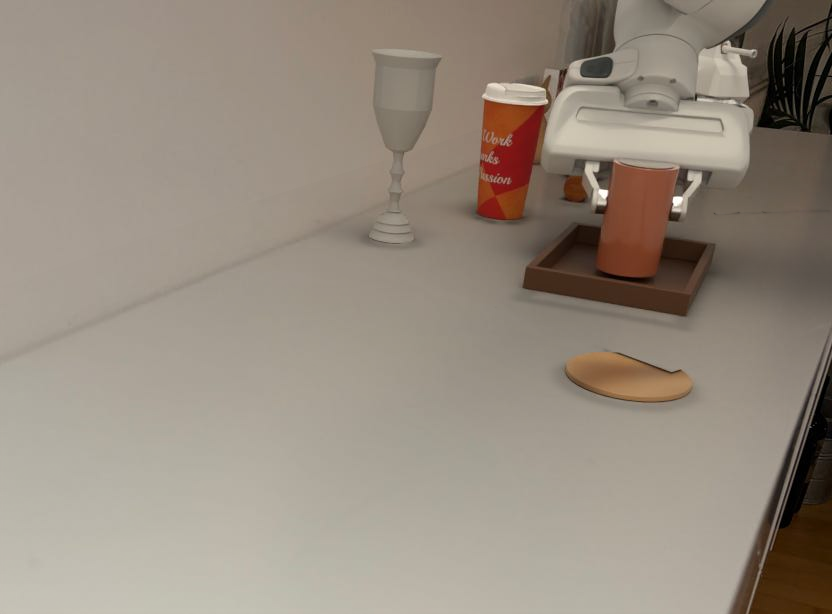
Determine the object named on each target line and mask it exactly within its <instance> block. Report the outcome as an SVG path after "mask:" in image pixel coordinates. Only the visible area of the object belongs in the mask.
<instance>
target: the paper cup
mask: <svg viewBox="0 0 832 614" xmlns="http://www.w3.org/2000/svg"><path fill="white" fill-rule="evenodd" d="M485 87H486V88H485V92H484V93H482V96H481V98H482V99H483V100H484V102H483V112H482V113H483V114H482V125H481V126H482V128H481V140H480V141H481V142H480V154H479V155H480V156H479V168H478V169H479V170H478V186H477V202H476V206H477V207H476V212H477V214H478V215H480V216H483V217H486V218H489V219H496V220H518V219H521V218H523V214H524V209H525V205H526V201H527V197H528V191H529V187H530V182H531V176H532V172H533V167H534V162H535V158H536V151H537V146H538V141H539V138H540V132H541V128H542V122H543V117H544V112H545V107H546V105H548V104H549V100H548V99H547V90H546V88H544V87H541V86H537V85H531V84H525V83H516V82H515V83H514V82H512V83H510V82H500V83H497V82H490V83H488V84H487V85H486V86H485Z"/></svg>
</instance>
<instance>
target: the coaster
mask: <svg viewBox="0 0 832 614" xmlns="http://www.w3.org/2000/svg"><path fill="white" fill-rule="evenodd" d="M565 373H566V376H567V377H568V379H569V380H571V381H572V382H573V383H575V384H576V385H578V386H580V387H582V388H583V389H585V390H588V391H590V392H593V393H596V394H599V395H602V396H604V397H605V396H606V397H610V398H614V399H619V400H624V401H625V400H626V401H633V402H650V403H651V402H653V403H654V402H667V401H672V400H678V399H680V398H683V397H685V396H686V395H688V394H689V393H690V392H691V389H692V386H693V380H692V378H691V377H690V375H688V373H686V372H685V371H684V370H683V369H676V370H674V371H670V370H667V369H664V368H661V367H659V366H656V365H654V364H651V363H649V362H645V361H642V360H640V359H638V358H635V357H632V356H630V355H627V354H624V353H621V352H618V351H617V352H616V351H595V352H588V353H582V354H578V355H576V356H574V357H571V358H570V359H569V360H568V361H567V362H566V365H565Z"/></svg>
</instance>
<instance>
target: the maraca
mask: <svg viewBox="0 0 832 614" xmlns="http://www.w3.org/2000/svg"><path fill="white" fill-rule="evenodd" d="M582 178H583V176H573V175H569V176H568V177H567V179H565V182H564V184H563V189H562V191H563V194H564V196H565V198H566V199H567V200H569V201H571V202H576V203H577V202H580V201H583V200H584V199H586V197H588V195H587V193H586V191H585V189H584V187H583V185H582Z"/></svg>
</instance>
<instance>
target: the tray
mask: <svg viewBox="0 0 832 614" xmlns="http://www.w3.org/2000/svg"><path fill="white" fill-rule="evenodd" d="M600 231H601V225H596V224H589V223H583V222H577V221H573V222H572V223H570V224H569V226H567V227H566V228H565V229H564V230H563V231H562V232H561V233H560V234H559V235H558V236H557V237H556V238H555V239H554V240H553V241H551V243H550V244H548V245H547V247H545V248H544V249H543V250H542V251H541V252H540V253H539V254H538V255H537V256H536V257H535V258H534V259H532V261H530V262H529V263H528V264H527V265H526V266H525V271H524V276H523V277H524V278H523V283H522V284H523V285H522V289H525V290H531V291H536V292H541V293H546V294H547V293H548V294H553V295H559V296H565V297H570V298H576V299H581V300H588V301H592V302H599V303H605V304H611V305H616V306H622V307H627V308H632V309H633V308H634V309H639V310H645V311H651V312H656V313H663V314H669V315H672V316H673V315H674V316H680V317H687V315H688V312H689V310H690V308H691V306H692V304H693V303H694V300H695V298H696V296H697V294H698V292H699V290H700V287H701V286H702V283H703V281H704V280H705V277H706V275H707V273H708V271H709V269H710V267H711V265H712V263H713V258H714V254H715V251H716V246H717V244H716V243H712V242H706V241H699V240H694V239H687V238H680V237H675V236H668V235H666V236H665V241H664V245H663V250H662V255H661V259H660V264H659V269H658V273H657V274H656V275H654V276H650V277H624V276H618V275H613V274H609V273H606V272H603V271H601V270H599V269H597V268H596V267H595V265H594V264H595V258H596V253H597V247H598V242H599V236H600Z"/></svg>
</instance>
